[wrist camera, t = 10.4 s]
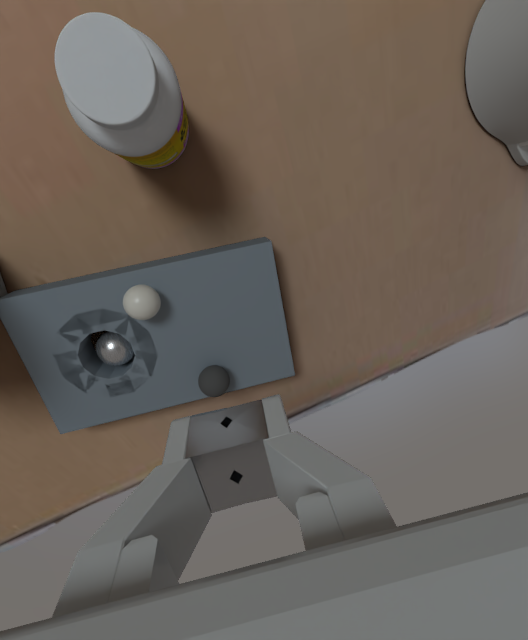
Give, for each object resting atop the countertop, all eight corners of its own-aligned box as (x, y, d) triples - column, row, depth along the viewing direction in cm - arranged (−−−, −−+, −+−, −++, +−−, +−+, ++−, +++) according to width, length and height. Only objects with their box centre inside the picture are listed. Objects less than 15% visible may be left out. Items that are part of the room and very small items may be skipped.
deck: (264, 236, 33) (271, 241, 29) (287, 359, 38) (295, 375, 34) (15, 290, 31) (-9, 301, 27) (74, 412, 36) (60, 434, 33)
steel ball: (131, 329, 31) (90, 342, 29) (143, 362, 32) (105, 377, 31) (127, 319, 34) (89, 331, 32) (138, 350, 35) (102, 363, 34)
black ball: (225, 356, 32) (226, 371, 30) (231, 382, 34) (234, 398, 31) (195, 363, 32) (193, 379, 29) (202, 389, 33) (202, 406, 31)
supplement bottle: (199, 160, 30) (192, 134, 18) (125, 177, 29) (67, 161, 17) (175, 72, 27) (150, -28, 15) (95, 88, 27) (3, -1, 15)
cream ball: (157, 277, 29) (151, 285, 26) (166, 309, 30) (162, 320, 27) (122, 285, 29) (113, 294, 26) (133, 316, 30) (126, 329, 27)
